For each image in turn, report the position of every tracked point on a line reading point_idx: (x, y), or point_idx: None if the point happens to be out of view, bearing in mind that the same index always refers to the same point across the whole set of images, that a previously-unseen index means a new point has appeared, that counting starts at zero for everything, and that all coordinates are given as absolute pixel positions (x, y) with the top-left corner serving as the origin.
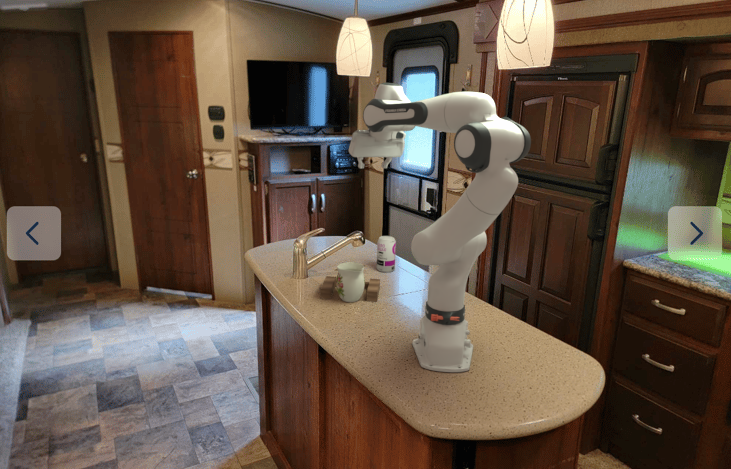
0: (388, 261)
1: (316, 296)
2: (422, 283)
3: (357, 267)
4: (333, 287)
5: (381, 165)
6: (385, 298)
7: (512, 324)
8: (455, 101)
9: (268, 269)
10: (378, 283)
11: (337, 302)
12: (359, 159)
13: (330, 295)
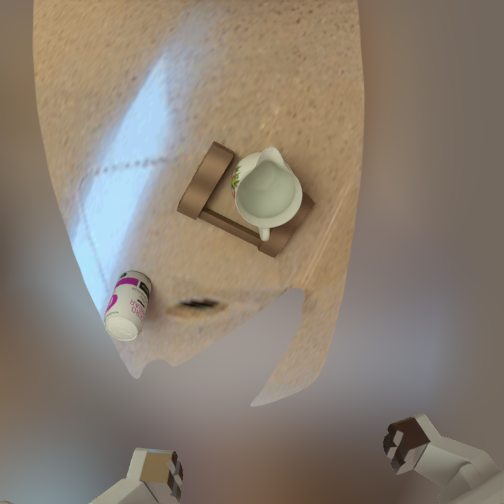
0: (130, 283)
1: None
2: (89, 202)
3: (242, 209)
4: None
5: (182, 478)
6: (189, 151)
7: (45, 4)
8: None
9: (324, 330)
10: (190, 188)
11: None
12: (485, 454)
13: None
